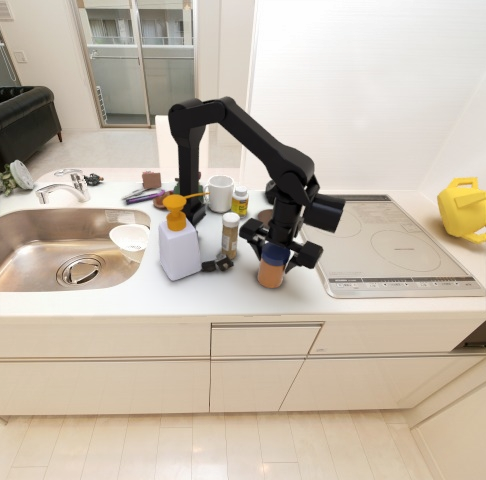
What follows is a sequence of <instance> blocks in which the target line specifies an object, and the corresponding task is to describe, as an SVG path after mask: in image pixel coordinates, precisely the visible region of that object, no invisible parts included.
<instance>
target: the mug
mask: <svg viewBox="0 0 486 480" xmlns="http://www.w3.org/2000/svg"><path fill="white" fill-rule="evenodd" d="M234 186H235V180H234V178H233V177H231V176H229V175H224V174H216V175H213V176H210V177H209V178H208V180H207V183H206V184H204V185H203V193H206V189H207V188H208V190H207V191H208V192H207V193H209V192H210V194H209V195H208V198H207V195H204V201H206V203H207V204H208V207H209V209H210V211H212V212H214V213H219V214H221V213H222V214H224V213H228V212H230V211H231V205H232V194H233V193H234V189H235V188H234Z"/></svg>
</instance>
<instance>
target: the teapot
mask: <svg viewBox="0 0 486 480" xmlns="http://www.w3.org/2000/svg"><path fill="white" fill-rule="evenodd" d="M469 185H471V187H468V186H469ZM466 186H467V187H466ZM436 200H437V207H438V211H439V215H440V218H441V221H442V224H443V226H444V229H445V231H446V233H447V234H448V235H450V236H453V237H456V238H462V239H464V240H466V241H469V242H471V243H473V244H475V245H480V244H482V243H485V242H486V232H484V233H481V234H480V233H479V234H477V233H476V232H478V231H480V230H482V229H484V228H486V190H483V189H479V181H478V177H477V176H470V177H468V176H467V177H453V179H452V180H451V181H450V183H449V184H448V185H447V187H446V188H444V189H443V190H441V191H440V192H439V193H438V194H437V196H436Z"/></svg>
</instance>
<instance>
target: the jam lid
mask: <svg viewBox="0 0 486 480" xmlns="http://www.w3.org/2000/svg"><path fill="white" fill-rule="evenodd" d="M291 251H292V250H289V249H287V248H285V249H284V248H281V247H279V246H277V245H275V244H272V243H270V242H268V241H266V242H265V244H264V245H263V247H262V251H261V257H262V259H263V260H264V261H265V262H266V263H268V264H270V265H273V266H283V265H285V264H288V262H289V260H290V259H291V255H292V252H291Z"/></svg>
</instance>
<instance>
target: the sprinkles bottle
mask: <svg viewBox="0 0 486 480" xmlns="http://www.w3.org/2000/svg"><path fill="white" fill-rule="evenodd" d="M221 221H222V222H221V224H222V231H221V251H220V254H223V255H225V254H227V256H228V257H229V258H230V260H233V259H235V258H236V256H237V247H238V237H239V226H240V223H241V218H240V217H239V215H238V214H236V213H231V211H229V212H225V213H223V215H222V218H221Z"/></svg>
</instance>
